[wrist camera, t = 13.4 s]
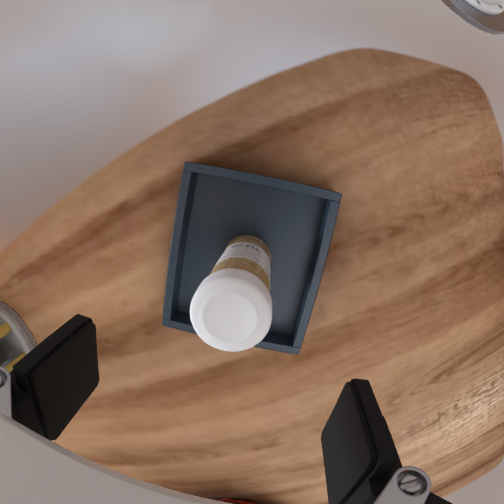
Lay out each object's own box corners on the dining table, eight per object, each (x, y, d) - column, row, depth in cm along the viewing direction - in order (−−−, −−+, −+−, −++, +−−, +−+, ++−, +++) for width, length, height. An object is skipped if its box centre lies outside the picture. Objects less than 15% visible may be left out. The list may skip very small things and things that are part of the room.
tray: (193, 163, 28) (184, 161, 25) (334, 192, 28) (342, 193, 25) (170, 312, 32) (161, 325, 29) (296, 339, 32) (298, 355, 29)
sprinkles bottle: (216, 268, 30) (176, 334, 17) (235, 225, 29) (205, 263, 16) (259, 288, 30) (251, 366, 17) (280, 246, 29) (287, 299, 16)
